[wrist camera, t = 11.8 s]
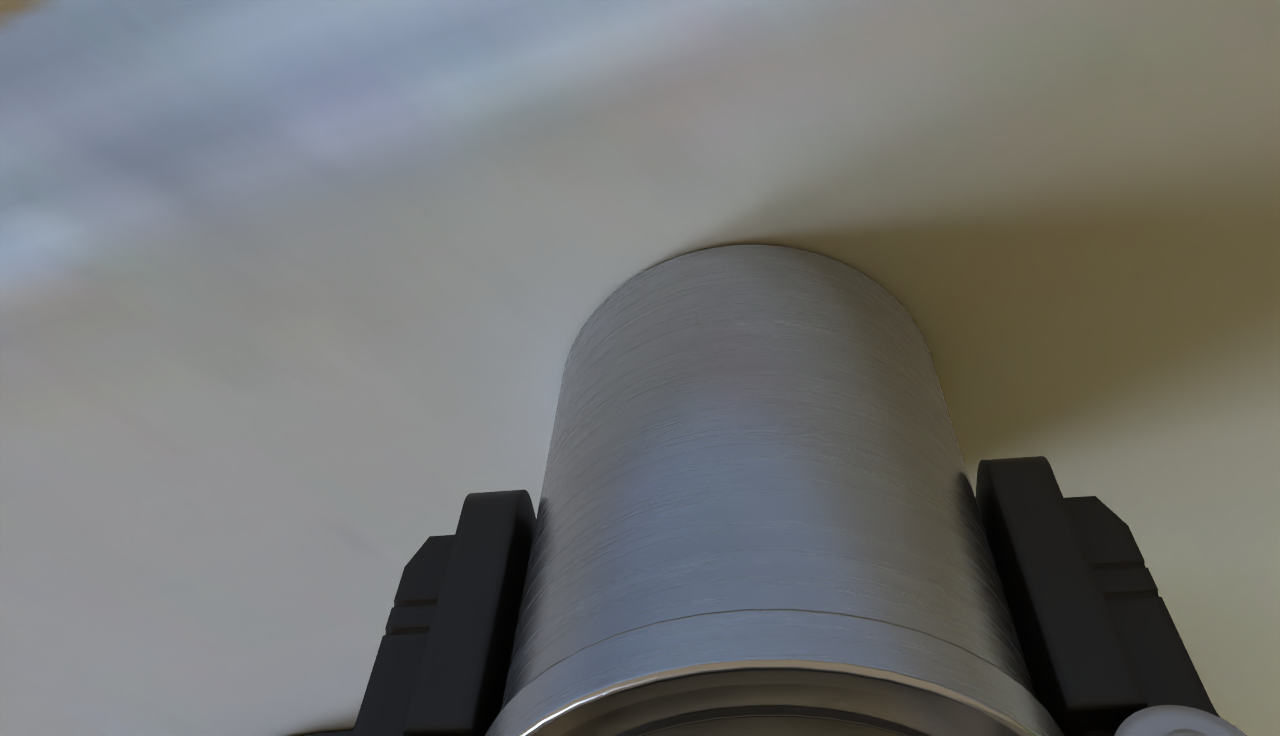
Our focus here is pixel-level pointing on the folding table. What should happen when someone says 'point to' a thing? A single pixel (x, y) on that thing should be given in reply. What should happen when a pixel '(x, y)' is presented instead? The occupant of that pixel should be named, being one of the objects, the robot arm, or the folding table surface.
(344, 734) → the grey stepped cylinder
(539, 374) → the folding table surface
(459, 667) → the robot arm
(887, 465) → the silver cup
